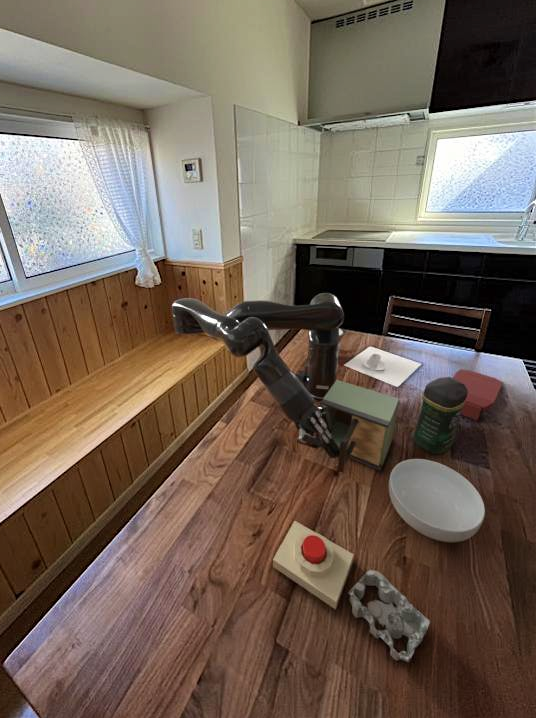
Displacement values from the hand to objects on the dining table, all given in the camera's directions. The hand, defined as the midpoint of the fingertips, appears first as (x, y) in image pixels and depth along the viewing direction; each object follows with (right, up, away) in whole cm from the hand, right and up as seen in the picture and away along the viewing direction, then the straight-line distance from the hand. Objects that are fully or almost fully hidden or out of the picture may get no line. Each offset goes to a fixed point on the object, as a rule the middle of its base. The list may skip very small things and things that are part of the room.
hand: (337, 455), depth 76 cm
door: (+6, -5, +4) cm, 9 cm away
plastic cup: (+12, +16, +54) cm, 58 cm away
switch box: (-9, -15, -13) cm, 22 cm away
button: (-9, -12, -15) cm, 21 cm away
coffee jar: (+29, -2, +12) cm, 32 cm away
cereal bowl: (+18, -10, -5) cm, 21 cm away
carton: (+51, +7, +30) cm, 60 cm away
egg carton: (+1, -18, -21) cm, 28 cm away
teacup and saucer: (+31, +14, +48) cm, 59 cm away
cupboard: (+9, -2, +14) cm, 17 cm away
